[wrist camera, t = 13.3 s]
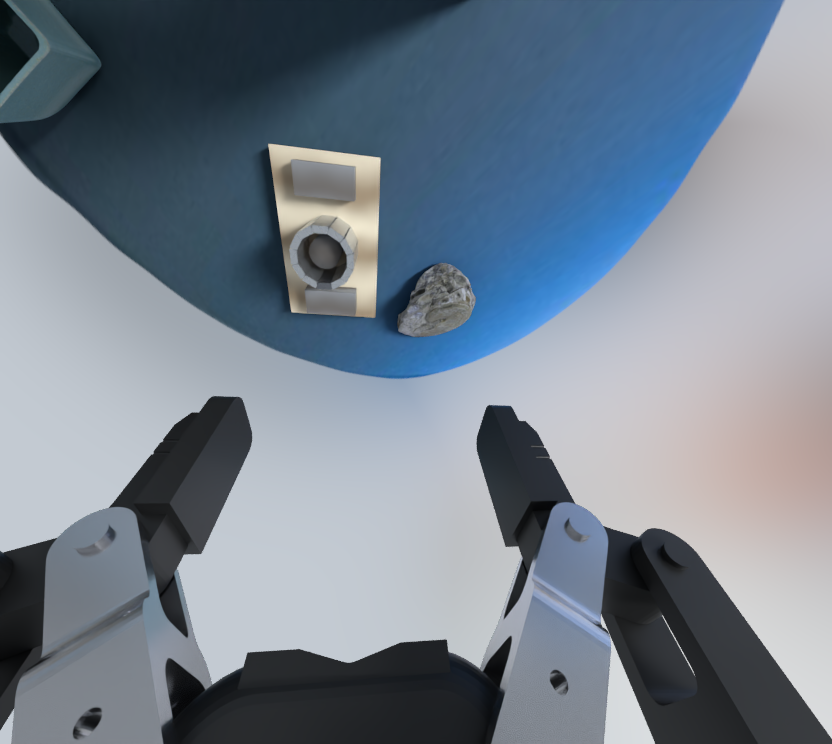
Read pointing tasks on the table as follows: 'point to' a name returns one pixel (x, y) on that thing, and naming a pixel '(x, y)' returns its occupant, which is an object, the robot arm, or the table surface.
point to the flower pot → (39, 61)
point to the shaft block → (334, 196)
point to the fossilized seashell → (437, 303)
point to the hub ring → (304, 262)
